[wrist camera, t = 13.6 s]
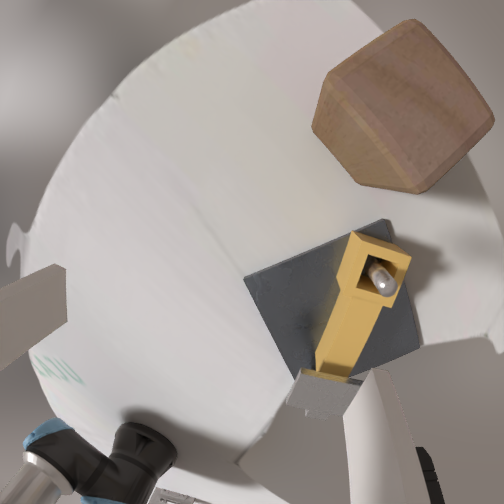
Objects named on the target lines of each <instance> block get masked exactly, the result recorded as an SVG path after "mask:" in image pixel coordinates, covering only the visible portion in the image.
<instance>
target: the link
mask: <svg viewBox="0 0 504 504" xmlns="http://www.w3.org/2000/svg"><path fill="white" fill-rule="evenodd" d="M368 254H369V255H372V256H376V257H379V258H382V261H381V265H382V266H383V267H384V268H385V269H386V270H387V271H388V273H389V274H390V275H391V276H392V277H393V278H394V280H395V281H396V282H397V285H398V288H397V291H396V293H395V294H394V295H393V296H391V297H383V296H382V295H381V294H380V292H379V291H378V289H377V288H376V286H375V285H374V283H373V282H372V280H371V279H370V278H369V277H366V276H363V275H361V272H362V270H363V267H364V264H365V261H366V259H367V256H368ZM411 258H412V257H411V256H410V255H409V254H407V253H406V252H405V251H403V250H402V249H401V248H399V247H398V246H397V245H395V244H392V243H389V242H386V241H383V240H380V239H377V238H374V237H371V236H368V235H365V234H362V233H358V232H355V231H351V235H350V238H349V241H348V244H347V247H346V250H345V253H344V256H343V259H342V262H341V264H340V267H339V270H338V273H337V276H336V278H337V281H338V284H339V287H340V293H339V296H338V298H337V301H336V303H335V306H334V308H333V311H332V313H331V316H330V318H329V321H328V323H327V326H326V328H325V331H324V333H323V335H322V338H321V340H320V342H319V345H318V347H317V349H316V352H315V358H316V371H318V372H323V373H327V374H332V375H336V376H341V377H346V378H348V376H349V374H350V373H351V371H352V369H353V367H354V365H355V363H356V361H357V359H358V357H359V355H360V353H361V351H362V349H363V347H364V345H365V343H366V341H367V339H368V337H369V335H370V333H371V331H372V329H373V326H374V324H375V322H376V320H377V318H378V315H379V313H380V311H381V309H382V306H385V307H389V308H392V306H393V303H394V301H395V299H396V296H397V294H398V291H399V289H400V287H401V284H402V282H403V279H404V277H405V274H406V271H407V269H408V266H409V263H410V261H411Z"/></svg>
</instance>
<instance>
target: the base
mask: <svg viewBox="0 0 504 504" xmlns="http://www.w3.org/2000/svg"><path fill="white" fill-rule="evenodd" d="M355 232H358V233H362V234H365V235H368V236H371V237H374V238H377V239H380V240H383V241H386V242H389V243H392V240H391V237H390V235H389V232H388V229H387V226H386V223H385V220H384V219H380V220H378V221H376V222H373V223H371V224H369V225H367V226H364V227H362V228H360V229H357V230H355ZM350 235H351V232H350V233H348V234H346V235H344V236H341V237H339V238H337V239H334V240H332V241H330V242H327V243H325V244H323V245H320V246H318V247H315V248H313V249H311V250H308V251H306V252H304V253H301V254H299V255H296V256H294V257H292V258H289V259H287V260H285V261H282V262H280V263H277V264H275V265H273V266H270V267H268V268H265V269H263V270H260V271H258V272H256V273H253V274H251V275H248V276H246V277H244V279H243V280H244V282H245V284H246V286H247V288H248V290H249V292H250V294H251V296H252V298H253V300H254V302H255V304H256V306H257V308H258V310H259V312H260V314H261V316H262V318H263V320H264V322H265V324H266V326H267V328H268V330H269V331H270V333H271V335H272V337H273V339H274V341H275V343H276V345H277V347H278V349H279V351H280V353H281V355H282V357H283V359H284V361H285V363H286V364H287V366H288V368H289V370H290V372H291V374H292V376H293V378H294V380H295V379H296V377H297V375H298V373H299V370H300V368H301V367H302V368H306V369H310V370H311V369H313V370H316V358H315V352H316V349H317V347H318V345H319V342H320V340H321V338H322V335H323V333H324V331H325V328H326V326H327V323H328V321H329V318H330V316H331V313H332V311H333V308H334V306H335V303H336V301H337V298H338V296H339V293H340V287H339V284H338V281H337V278H336V276H337V273H338V270H339V267H340V264H341V262H342V259H343V256H344V253H345V250H346V247H347V244H348V241H349V238H350ZM392 244H393V243H392ZM381 261H382V258H379V257H376V256H372V255H369V254H368V256H367V259H366V261H365V264H364V267H363V270H362V272H361V275H363V276H366V277H369V278H370V279H371V280H372V282H373V283H374V285H375V286H376V288H377V289H378V291H379V292H380V294H381V295H382V296H383V297H391V296H393V295H394V294H395V293H396V291H397V288H398V285H397V282H396V281H395V280H394V278H393V277H392V276H391V275H390V274H389V273H388V271H387V270H386V269H385V268H384V267H383V266H382V265H381ZM418 348H420V345H419V340H418V335H417V331H416V326H415V322H414V318H413V313H412V309H411V305H410V301H409V297H408V294H407V290H406V286H405V283H404V279H403V282H402V284H401V287H400V289H399V291H398V294H397V296H396V299H395V301H394V303H393V306H392V308H389V307H385V306H382V309H381V311H380V313H379V315H378V318H377V320H376V322H375V324H374V326H373V329H372V331H371V333H370V335H369V337H368V339H367V341H366V343H365V345H364V347H363V349H362V351H361V353H360V355H359V357H358V359H357V361H356V363H355V365H354V367H353V369H352V371H351V373H350V374H349V376H348V377H351V376H354V375H356V374H359V373H362V372H364V371H367V370H369V369H371V368H375V367H377V366H379V365H382V364H384V363H387V362H389V361H392V360H394V359H396V358H399V357H401V356H403V355H405V354H408V353H410V352H412V351H414V350H416V349H418Z"/></svg>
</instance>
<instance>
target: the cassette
mask: <svg viewBox="0 0 504 504" xmlns="http://www.w3.org/2000/svg"><path fill="white" fill-rule="evenodd" d="M162 500H164V501H163V502H162ZM194 500H195V499H194V498H193V497H189V496H187V495H183V494H179V493H176V492H172V491H169V490H165V489H160V488H157V487H156V489H155V491H154V493H153V495H152V497H151V499H150V501H149V503H148V504H167V501H168V502H172V503H175V504H193V503H194Z"/></svg>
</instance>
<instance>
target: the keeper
mask: <svg viewBox="0 0 504 504" xmlns="http://www.w3.org/2000/svg"><path fill="white" fill-rule="evenodd" d="M363 382H364V381H361V380H356V379H351V378H346V377H341V376H336V375H332V374H327V373H323V372H318V371H316V370H313V369H311V370H310V369H306V368H302V367H301V368H300V370H299V373H298V375H297V377H296V379H295V382H294V384H293V386H292V388H291V390H290V392H289V395H288V397H287V399H286V405H288V406H292V407H297V408H301V409H306V411H305V412H306V414H305V416H306V417H310V418H315V419H320V420H327V418H328V417H329V415H330V414H332V415H338V416H343V415H344V413H345V412H346V410H347V408H348V407H349V405H350V404H351V402H352V401H353V399H354V397H355V396H356V394H357V392H358V391H359V389H360V387H361V386H362V384H363Z"/></svg>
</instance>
